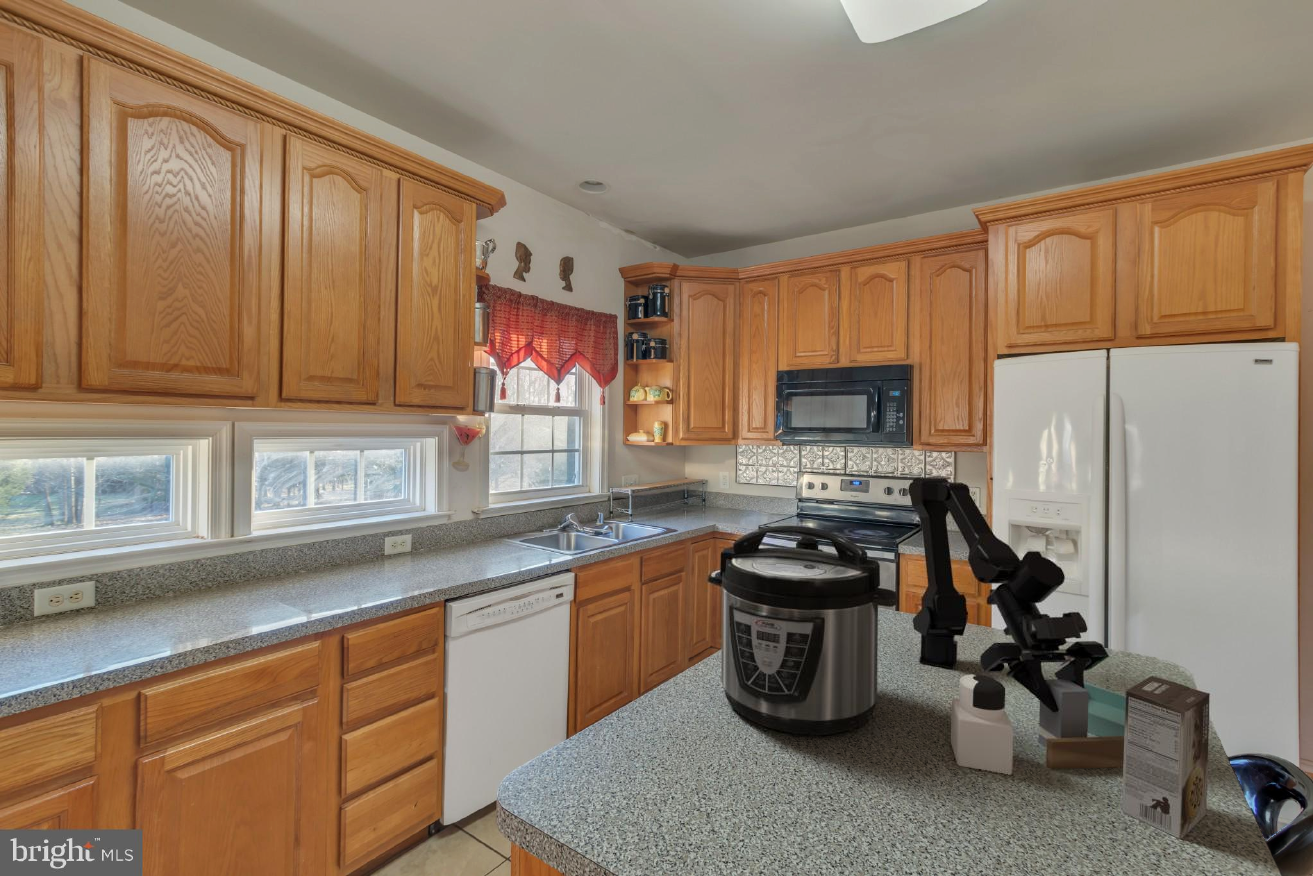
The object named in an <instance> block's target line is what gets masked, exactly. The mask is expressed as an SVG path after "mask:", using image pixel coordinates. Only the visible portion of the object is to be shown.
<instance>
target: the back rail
mask: <svg viewBox="0 0 1313 876" xmlns="http://www.w3.org/2000/svg"><path fill="white" fill-rule="evenodd" d="M1045 759H1046V760H1045V763H1046V764H1045V766H1046V765H1047V766H1046V767H1047V768H1049V767H1050V768H1051V769H1050V768H1049V769H1050V770H1062V769H1061V768H1072V769H1093V768H1095V769H1096V768H1097V769H1098V768H1099V769H1100V768H1118V767H1119V768H1123V765H1124V737H1122V736H1113V737H1101V736H1087V737H1082V738H1051V739H1047V748H1046V757H1045Z"/></svg>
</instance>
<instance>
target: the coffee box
mask: <svg viewBox="0 0 1313 876" xmlns="http://www.w3.org/2000/svg"><path fill="white" fill-rule="evenodd" d="M1125 695H1126V707H1125V737H1124V765H1123V767H1122V768H1123V769H1122V774H1123V775H1122V790H1121V791H1122V794H1121V796H1122V797H1121V798H1122V799H1121V811H1122V813H1124V814H1126V815H1127V816H1130V817H1133V818H1135V819H1136V820H1138V821H1141V822H1143V823H1145V824H1147V825H1149V826H1151V827H1154V828H1156V829H1157V830H1160V831H1161V832H1164V833H1167V834H1168V835H1170V836H1173V837H1175V838H1176V839H1180V840H1181V839H1184V837H1185V836H1187V834H1188V833H1190V832H1191V830H1192V829H1193V828H1194V827H1196V825H1197V824H1198V823H1199V822H1200V821H1202V819H1203V818H1204V817H1205V816H1206V815H1207V802H1208V801H1207V800H1208V799H1207V796H1208V795H1207V794H1208V765H1209V763H1208V762H1209V738H1210V737H1209V733H1210V728H1209V727H1210V697H1211V694H1210V693H1209V692H1205V691H1201V690H1198V689H1195V688H1191V687H1189V686H1187V685H1185V684H1180V683H1178V682H1175V681H1171V680H1167V679H1164V678H1161V677H1158V676H1153V675H1151V676H1149V677H1147V678H1145V679H1143V680H1142V681H1140V682H1139V683H1138V682H1137V683H1136V684H1135V685H1133V686H1132V687H1130V688H1129V689H1127V690H1126V691H1125Z"/></svg>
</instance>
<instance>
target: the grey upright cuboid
mask: <svg viewBox="0 0 1313 876" xmlns="http://www.w3.org/2000/svg"><path fill="white" fill-rule="evenodd" d="M1045 680H1046V682H1047V684H1048V686H1049V688H1050V690H1051V693H1052V695H1053V697H1054V699H1055V701H1056V704H1057V706H1058V709H1059V710H1058V711H1057V712H1056V713H1053V712H1052V711H1051V710H1050V709H1049V708H1047V707H1046V706H1045V705H1044V704H1043V703H1042V702H1041V701H1040V700H1039V712H1038V713H1039V714H1038V715H1039V719H1038V731H1037V733H1038V743H1039V742H1040V743H1039V744H1041V745H1042V744H1043V745H1042V746H1044V747H1045V746H1046V747H1047V739H1051V738H1082V737H1088V734H1089V732H1088V704H1089V691H1087V690H1086V689H1084V688H1082V687H1080V686H1078V685H1076V684H1075V683H1073V682H1071V681H1069V680H1067V679H1057V678H1054V679H1053V678H1051V679H1049V678H1048V679H1045ZM1046 747H1045V748H1046Z"/></svg>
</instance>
